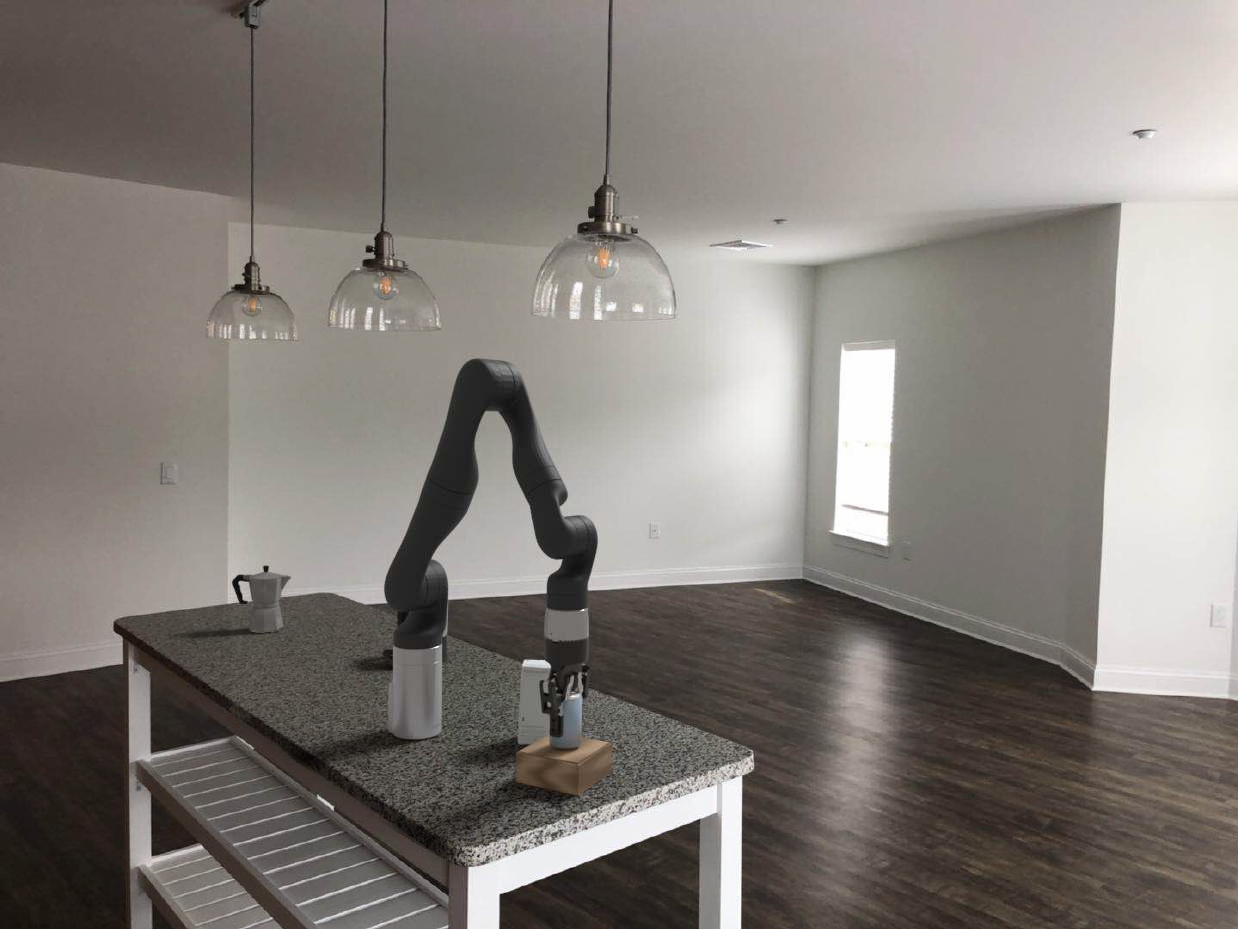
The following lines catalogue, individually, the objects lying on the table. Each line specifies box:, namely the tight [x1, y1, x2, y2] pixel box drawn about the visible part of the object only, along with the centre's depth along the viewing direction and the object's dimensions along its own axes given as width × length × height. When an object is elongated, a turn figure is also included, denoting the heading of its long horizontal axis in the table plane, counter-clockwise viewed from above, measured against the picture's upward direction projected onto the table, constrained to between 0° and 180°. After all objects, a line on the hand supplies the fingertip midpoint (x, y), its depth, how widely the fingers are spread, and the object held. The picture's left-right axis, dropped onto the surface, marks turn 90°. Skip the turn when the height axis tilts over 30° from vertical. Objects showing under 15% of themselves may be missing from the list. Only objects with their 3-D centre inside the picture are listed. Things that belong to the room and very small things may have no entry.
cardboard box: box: [515, 734, 613, 796], centre depth 168 cm, size 12×12×5 cm
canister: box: [549, 692, 583, 748], centre depth 167 cm, size 5×5×8 cm
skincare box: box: [517, 659, 551, 745], centre depth 186 cm, size 8×6×15 cm
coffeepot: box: [231, 565, 292, 631], centre depth 271 cm, size 15×9×18 cm, turn 103°
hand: (564, 731), depth 167 cm, fingers closed on canister, 5 cm apart
